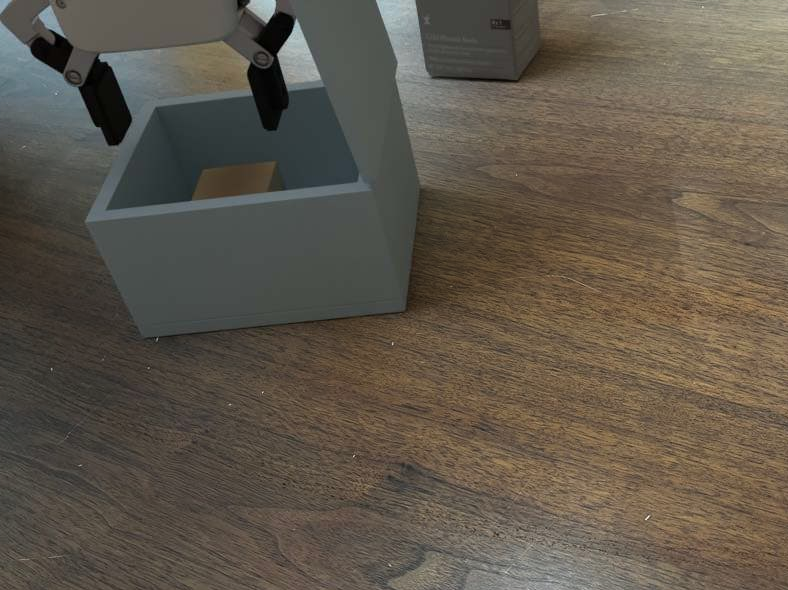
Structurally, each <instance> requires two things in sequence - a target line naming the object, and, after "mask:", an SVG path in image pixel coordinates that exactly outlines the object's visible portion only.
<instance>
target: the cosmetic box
mask: <svg viewBox="0 0 788 590" xmlns="http://www.w3.org/2000/svg"><path fill="white" fill-rule="evenodd" d="M415 8H416V13H417V14H416V15H417V20H418V26H419V34H420V35H419V36H420V40H421V48H422V53H423V59H424V65H425V70H426V72H427V73H428V76H430V77H447V78H450V77H451V78H471V79H472V78H473V79H497V80H508V81H518V80H519V78H520V77H521V76H522V74H523V73H524V71H525V70H526V68H527V67H528V66H529V64H530V63H531V62H532V60H533V59H534V57H535V56H536V54H537V53H538V52H539V50H540V48H541V47H542V41H541V26H540V13H539V3H538V0H415Z"/></svg>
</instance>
